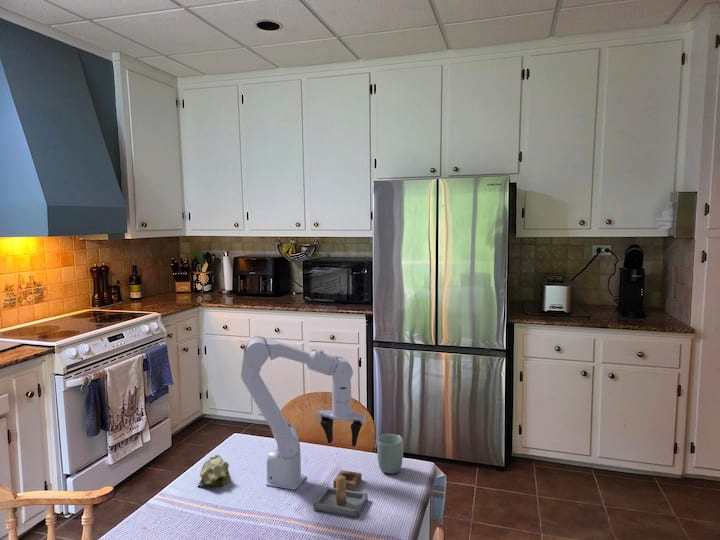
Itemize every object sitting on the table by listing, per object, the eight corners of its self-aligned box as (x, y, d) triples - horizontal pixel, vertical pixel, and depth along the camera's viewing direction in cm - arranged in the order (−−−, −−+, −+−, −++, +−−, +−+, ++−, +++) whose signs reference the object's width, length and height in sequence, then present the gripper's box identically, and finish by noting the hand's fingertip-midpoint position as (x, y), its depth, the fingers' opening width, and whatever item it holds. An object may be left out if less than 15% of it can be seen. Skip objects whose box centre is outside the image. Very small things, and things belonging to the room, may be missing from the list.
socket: (333, 487, 138) (333, 480, 138) (341, 476, 144) (341, 470, 144) (354, 490, 136) (354, 484, 136) (361, 479, 142) (361, 473, 142)
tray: (314, 510, 126) (313, 504, 126) (326, 492, 135) (326, 486, 135) (357, 518, 123) (357, 511, 123) (367, 499, 131) (367, 493, 131)
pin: (335, 504, 128) (334, 479, 127) (338, 499, 130) (337, 474, 130) (344, 506, 127) (343, 480, 127) (347, 500, 130) (347, 475, 129)
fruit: (207, 478, 146) (210, 451, 147) (235, 484, 144) (238, 457, 145) (190, 488, 137) (194, 459, 138) (220, 494, 135) (224, 465, 136)
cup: (401, 478, 143) (401, 445, 142) (375, 475, 144) (375, 443, 143) (404, 465, 150) (404, 434, 150) (379, 463, 152) (379, 432, 151)
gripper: (368, 397, 144) (369, 440, 145) (324, 392, 149) (324, 435, 150) (361, 405, 138) (362, 451, 139) (315, 400, 142) (315, 444, 143)
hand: (342, 443), depth 144 cm, fingers open, 7 cm apart
